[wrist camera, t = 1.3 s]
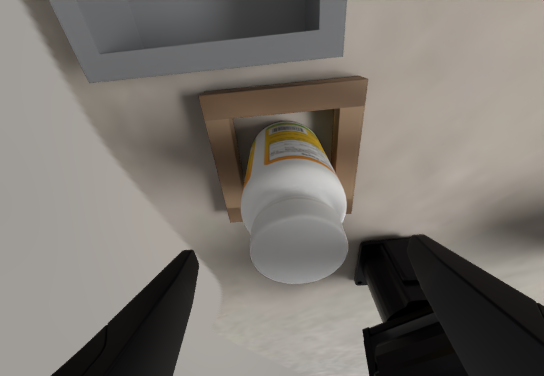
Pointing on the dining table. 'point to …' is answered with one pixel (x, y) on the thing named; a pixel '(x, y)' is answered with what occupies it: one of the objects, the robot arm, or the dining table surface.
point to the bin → (197, 34)
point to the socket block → (279, 100)
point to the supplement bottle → (293, 206)
